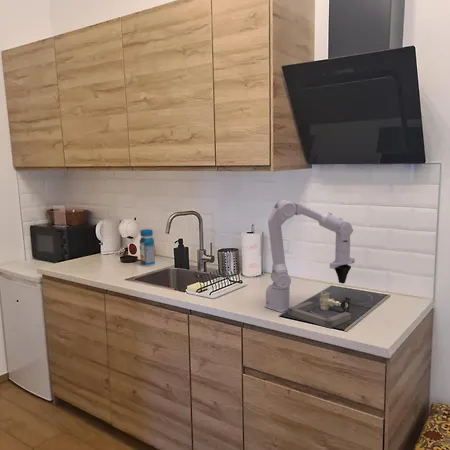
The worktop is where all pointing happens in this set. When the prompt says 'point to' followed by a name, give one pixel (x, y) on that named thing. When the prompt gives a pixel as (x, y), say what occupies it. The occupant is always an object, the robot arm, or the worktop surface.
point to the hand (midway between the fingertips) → (341, 282)
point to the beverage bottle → (147, 248)
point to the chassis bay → (301, 313)
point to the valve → (333, 302)
